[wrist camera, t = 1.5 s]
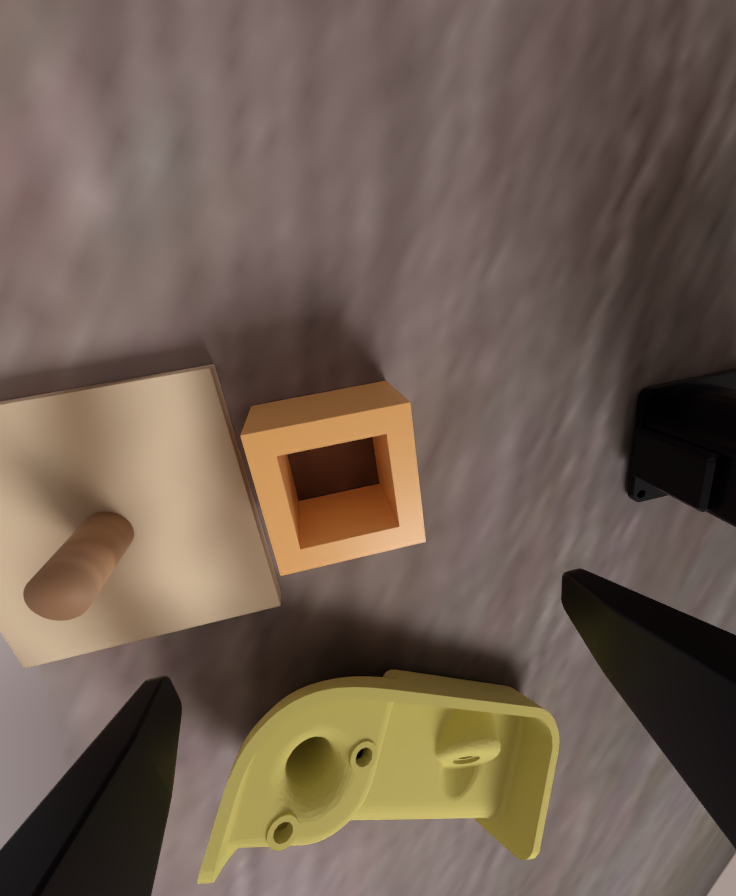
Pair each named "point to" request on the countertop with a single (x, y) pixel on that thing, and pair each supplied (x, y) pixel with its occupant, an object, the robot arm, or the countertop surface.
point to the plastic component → (389, 763)
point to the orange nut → (345, 513)
